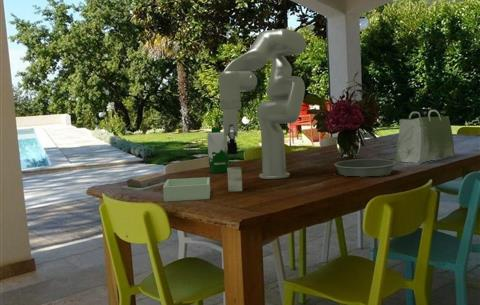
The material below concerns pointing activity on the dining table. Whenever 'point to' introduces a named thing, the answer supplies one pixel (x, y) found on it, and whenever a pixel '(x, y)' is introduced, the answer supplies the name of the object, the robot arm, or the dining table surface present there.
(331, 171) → the dining table surface
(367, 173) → the cake pan
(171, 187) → the sage bin
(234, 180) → the cream block
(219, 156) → the milk carton
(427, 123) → the grocery bag
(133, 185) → the packaged product
